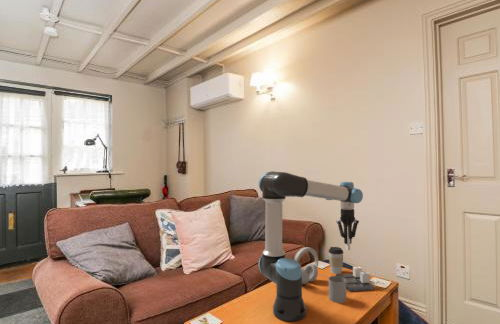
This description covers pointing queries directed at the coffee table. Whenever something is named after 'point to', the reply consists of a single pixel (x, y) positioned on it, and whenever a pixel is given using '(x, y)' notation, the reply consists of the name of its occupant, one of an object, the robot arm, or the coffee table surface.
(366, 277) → the block
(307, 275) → the headphones
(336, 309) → the coffee table surface
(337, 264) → the coffee cup
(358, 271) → the block
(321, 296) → the coffee table surface
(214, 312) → the coffee table surface
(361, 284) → the console
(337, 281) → the cup
